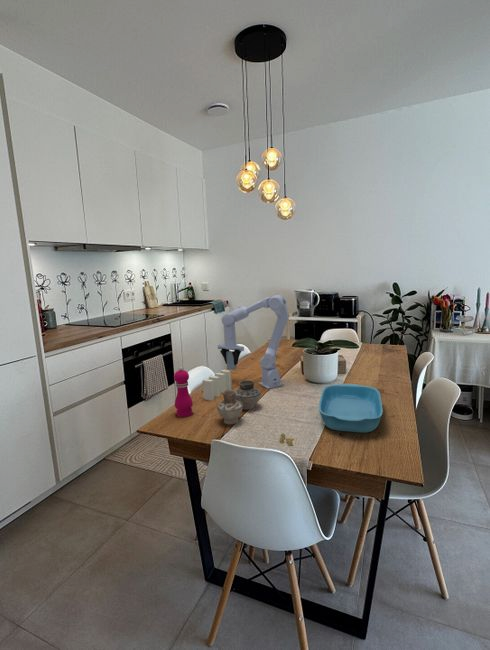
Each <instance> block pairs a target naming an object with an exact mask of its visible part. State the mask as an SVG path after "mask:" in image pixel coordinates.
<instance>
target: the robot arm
mask: <svg viewBox="0 0 490 650" xmlns="http://www.w3.org/2000/svg"><path fill="white" fill-rule="evenodd" d="M262 308H265V309H270V310H271V311H273V312H274V313H275V315H276V317H277V319H276V321H275V325H274V328H273V330H272V333H271V337H270V340H269V343H268V346H267V347H266V350H265V352H264V355H263V356H262V357H261V358H260V361H259V363H260V365H261V381H260V382H258V384H260V385H261V386H262V387H264V388H265V389H268V390H269V389H273V388H278V387H282V386H283V385H282V384H281V373H280V371H279V370H278V369H277V364H276V361H277V359H278V358H277V353H278V348H279V345H280V342H281V341H282V337H283V334H284V331H285V329H286V325H287V322H288V320H289V318H290V317H289V316H290V313H289V309H288V304H287V300H286V299H285V297H284V296H283V295H282V294H280V293H279V294H278V293H277V294H275V295H273V296H268V297H264V298H263V299H260V300H259V301H257V302H254V303H252V304H250V305H249V306H244V305H239V306H238V307H237V309H236V308H235V309H234V310H229V312H227V313H225V314H224V315H223V316H222V317H221V323H222V325H223V336H224V337H223V338H224V341H223V342H224V344H217V349H218V350H220V354H221V355H222V357H223V359H224V360H223V361H224V364H226V365H227V359H226V352H227V351H233V352H232V354H233V358H234V365H238V363H239V359H240V355H241V354H242V352H244V351H245V346H241V345H237V336H236V323H238V322H240V321H242V320H244V319H246V318H248V317H249V315H250V314H251V313H252V312H254V311H255V312H256V311H257V310H260V309H262Z"/></svg>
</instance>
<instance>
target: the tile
mask: <svg viewBox="0 0 490 650" xmlns="http://www.w3.org/2000/svg"><path fill="white" fill-rule="evenodd" d="M214 376H216V377H219V379H220V394H223V393H222V392H223V391H225V390H227V389H226V379H225V374H223V373H221V372H215V373H214Z"/></svg>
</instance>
